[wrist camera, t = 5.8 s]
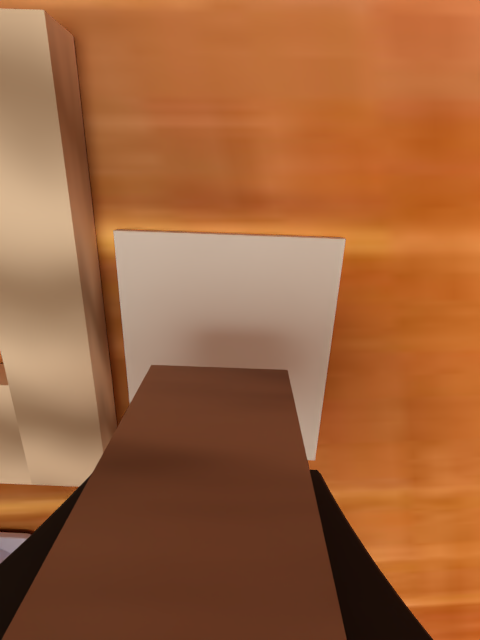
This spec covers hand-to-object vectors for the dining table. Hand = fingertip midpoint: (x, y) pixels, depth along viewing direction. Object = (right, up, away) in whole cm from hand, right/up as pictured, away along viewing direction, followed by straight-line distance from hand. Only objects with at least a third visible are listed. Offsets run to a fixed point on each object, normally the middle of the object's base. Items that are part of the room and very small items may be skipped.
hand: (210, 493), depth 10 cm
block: (0, +1, +3) cm, 3 cm away
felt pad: (0, +3, +8) cm, 8 cm away
